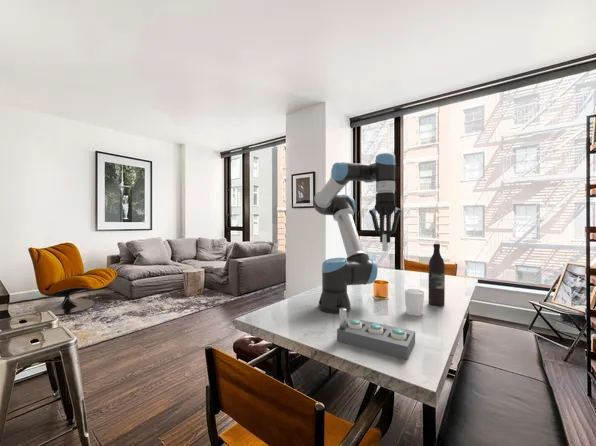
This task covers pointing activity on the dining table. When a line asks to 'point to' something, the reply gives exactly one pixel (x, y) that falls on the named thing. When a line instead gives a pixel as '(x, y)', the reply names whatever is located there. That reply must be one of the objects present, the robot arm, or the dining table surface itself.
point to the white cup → (414, 302)
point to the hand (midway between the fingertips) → (385, 250)
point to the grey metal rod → (342, 318)
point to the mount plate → (378, 339)
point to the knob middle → (376, 329)
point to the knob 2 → (398, 334)
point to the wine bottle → (436, 278)
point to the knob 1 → (355, 324)
